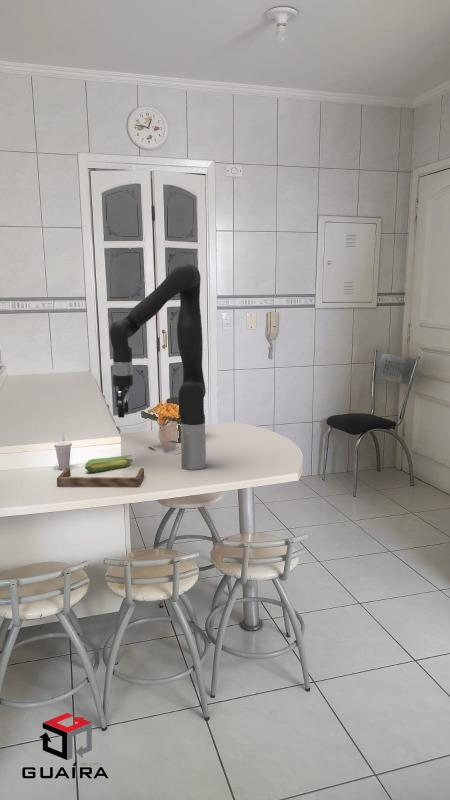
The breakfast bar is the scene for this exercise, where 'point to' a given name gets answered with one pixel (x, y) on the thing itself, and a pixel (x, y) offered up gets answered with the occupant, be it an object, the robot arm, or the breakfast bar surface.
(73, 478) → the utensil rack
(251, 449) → the breakfast bar surface
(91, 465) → the edible corn
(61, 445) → the smoothie
